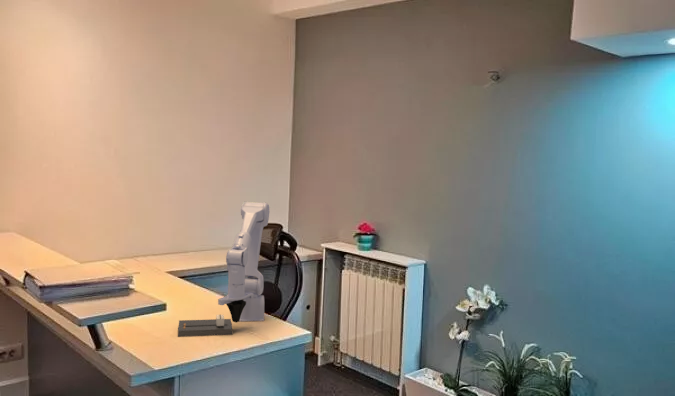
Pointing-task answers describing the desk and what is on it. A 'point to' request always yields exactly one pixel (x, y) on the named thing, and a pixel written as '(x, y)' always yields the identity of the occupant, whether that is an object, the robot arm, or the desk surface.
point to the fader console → (203, 328)
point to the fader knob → (220, 320)
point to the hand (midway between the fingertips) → (235, 321)
